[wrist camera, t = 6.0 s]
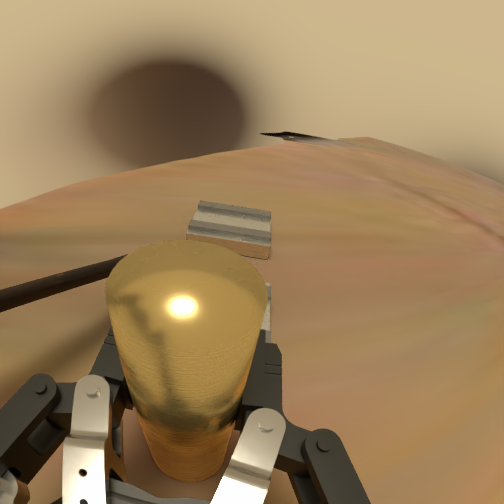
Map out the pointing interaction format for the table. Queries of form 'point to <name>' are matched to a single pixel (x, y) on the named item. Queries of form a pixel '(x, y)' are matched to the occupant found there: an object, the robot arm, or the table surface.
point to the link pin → (186, 347)
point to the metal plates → (235, 235)
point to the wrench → (55, 284)
